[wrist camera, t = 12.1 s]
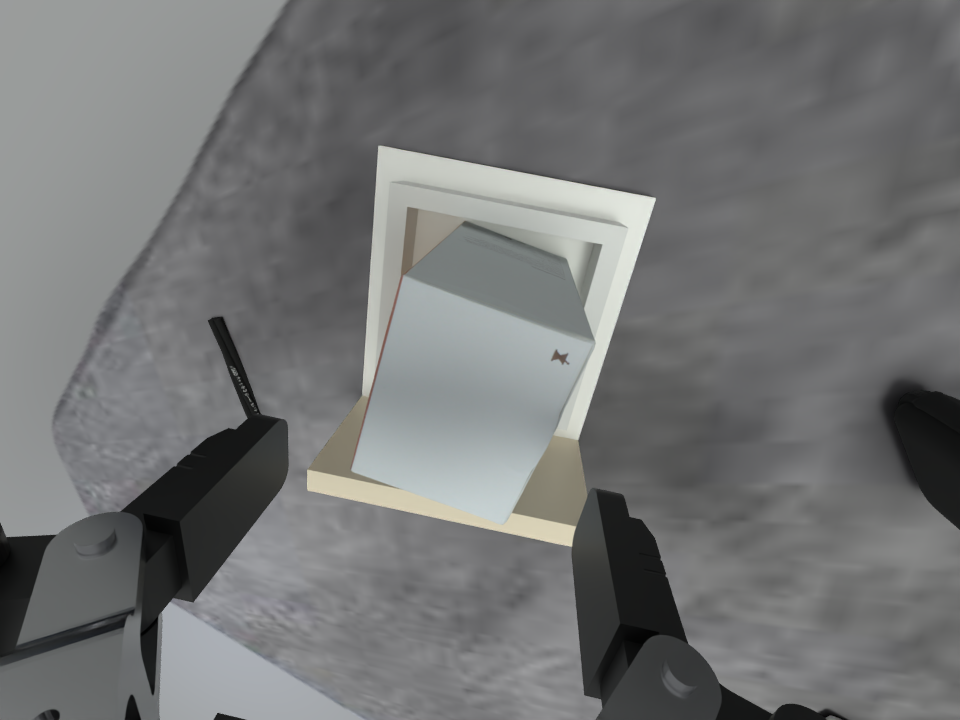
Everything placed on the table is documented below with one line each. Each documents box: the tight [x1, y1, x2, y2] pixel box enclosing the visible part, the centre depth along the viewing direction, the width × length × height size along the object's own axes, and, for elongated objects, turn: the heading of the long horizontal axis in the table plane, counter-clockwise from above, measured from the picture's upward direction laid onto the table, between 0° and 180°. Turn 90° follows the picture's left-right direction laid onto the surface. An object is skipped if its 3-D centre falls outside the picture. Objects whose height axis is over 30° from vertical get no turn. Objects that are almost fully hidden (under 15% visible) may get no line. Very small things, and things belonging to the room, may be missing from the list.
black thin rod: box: [208, 317, 260, 418], centre depth 32 cm, size 12×1×1 cm, turn 8°
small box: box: [350, 221, 596, 525], centre depth 20 cm, size 8×6×13 cm
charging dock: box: [307, 146, 656, 547], centre depth 24 cm, size 17×15×9 cm
